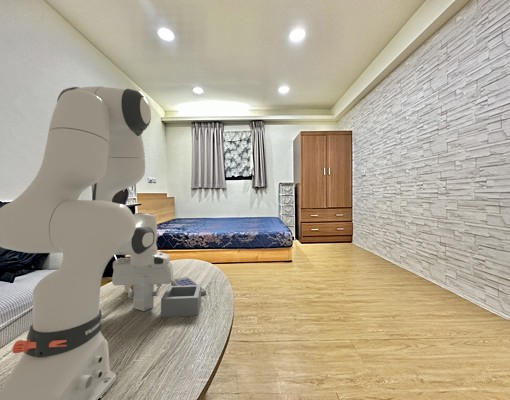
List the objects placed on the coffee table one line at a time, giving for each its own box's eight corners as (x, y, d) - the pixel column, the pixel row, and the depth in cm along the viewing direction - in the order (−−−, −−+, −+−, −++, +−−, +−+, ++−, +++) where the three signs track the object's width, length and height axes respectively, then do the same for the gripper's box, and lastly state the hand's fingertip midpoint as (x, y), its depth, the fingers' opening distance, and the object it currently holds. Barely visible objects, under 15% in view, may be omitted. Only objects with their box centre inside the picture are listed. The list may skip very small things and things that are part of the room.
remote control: (187, 300, 95) (187, 294, 95) (170, 282, 113) (170, 278, 113) (206, 295, 100) (206, 290, 100) (186, 279, 118) (186, 275, 118)
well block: (197, 315, 82) (197, 297, 82) (160, 317, 80) (161, 299, 80) (200, 300, 93) (201, 284, 93) (168, 301, 92) (169, 285, 92)
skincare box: (154, 307, 87) (154, 274, 87) (143, 311, 84) (144, 277, 83) (143, 303, 90) (143, 271, 90) (132, 307, 86) (132, 274, 86)
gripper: (108, 260, 82) (108, 301, 82) (170, 259, 85) (170, 298, 85) (116, 256, 88) (116, 293, 89) (174, 255, 91) (174, 291, 91)
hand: (143, 296), depth 87 cm, fingers closed on skincare box, 7 cm apart
